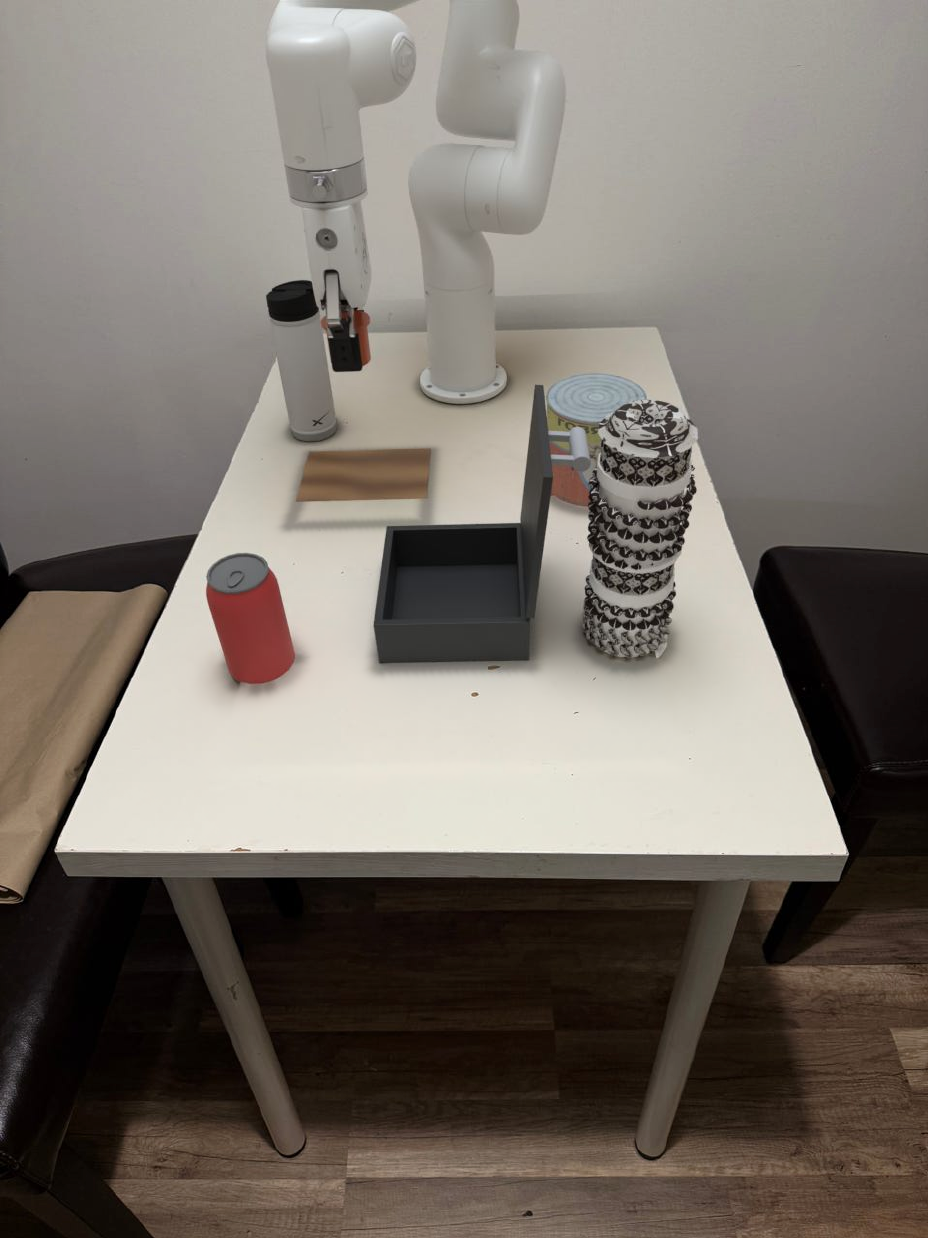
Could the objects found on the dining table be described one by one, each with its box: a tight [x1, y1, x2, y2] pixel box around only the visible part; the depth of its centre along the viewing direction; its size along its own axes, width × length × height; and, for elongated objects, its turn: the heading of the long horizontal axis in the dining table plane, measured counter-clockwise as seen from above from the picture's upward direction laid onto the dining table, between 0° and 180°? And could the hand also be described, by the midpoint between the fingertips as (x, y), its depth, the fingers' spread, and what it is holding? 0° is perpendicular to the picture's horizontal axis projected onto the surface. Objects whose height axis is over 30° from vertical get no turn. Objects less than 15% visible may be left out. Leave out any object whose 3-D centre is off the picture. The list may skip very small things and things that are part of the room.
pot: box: [321, 309, 372, 367], centre depth 96 cm, size 5×5×5 cm
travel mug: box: [265, 279, 338, 442], centre depth 115 cm, size 6×7×20 cm
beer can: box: [205, 552, 296, 685], centre depth 84 cm, size 7×7×12 cm
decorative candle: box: [581, 398, 699, 660], centre depth 81 cm, size 9×9×25 cm
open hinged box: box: [373, 522, 531, 664], centre depth 91 cm, size 15×16×6 cm
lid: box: [519, 384, 591, 619], centre depth 83 cm, size 16×16×5 cm
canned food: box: [545, 372, 648, 508], centre depth 105 cm, size 11×11×12 cm
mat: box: [295, 447, 432, 503], centre depth 111 cm, size 16×16×1 cm
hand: (350, 356), depth 97 cm, fingers closed on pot, 5 cm apart
